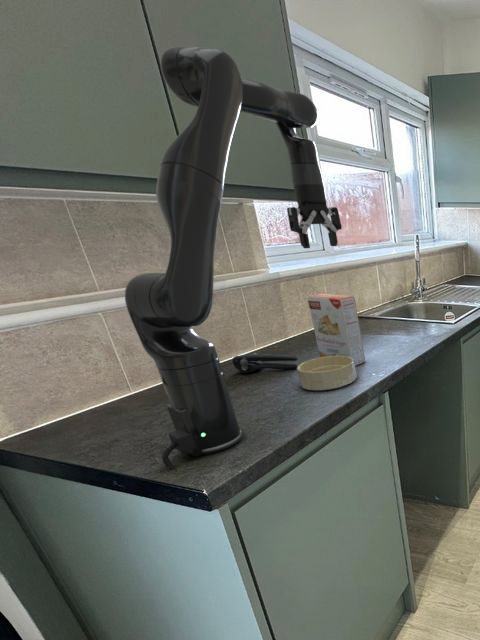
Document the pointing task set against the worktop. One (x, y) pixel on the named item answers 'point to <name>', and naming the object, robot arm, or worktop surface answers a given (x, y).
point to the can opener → (248, 366)
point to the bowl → (326, 372)
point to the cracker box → (336, 326)
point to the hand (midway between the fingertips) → (320, 247)
